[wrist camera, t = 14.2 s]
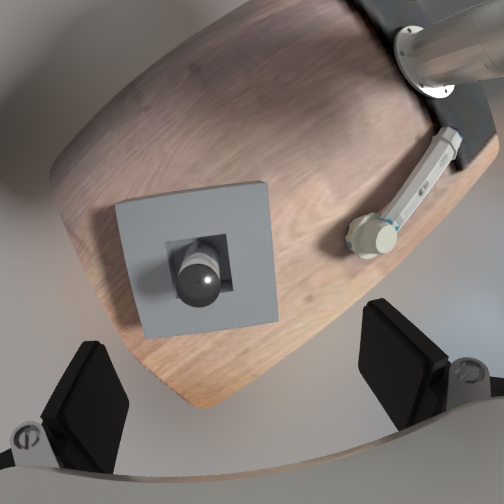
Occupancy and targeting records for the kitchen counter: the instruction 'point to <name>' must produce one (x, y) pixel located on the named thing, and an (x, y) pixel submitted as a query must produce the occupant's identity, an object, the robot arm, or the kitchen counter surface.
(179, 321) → the socket block
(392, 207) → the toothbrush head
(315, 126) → the kitchen counter surface
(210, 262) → the cylinder
